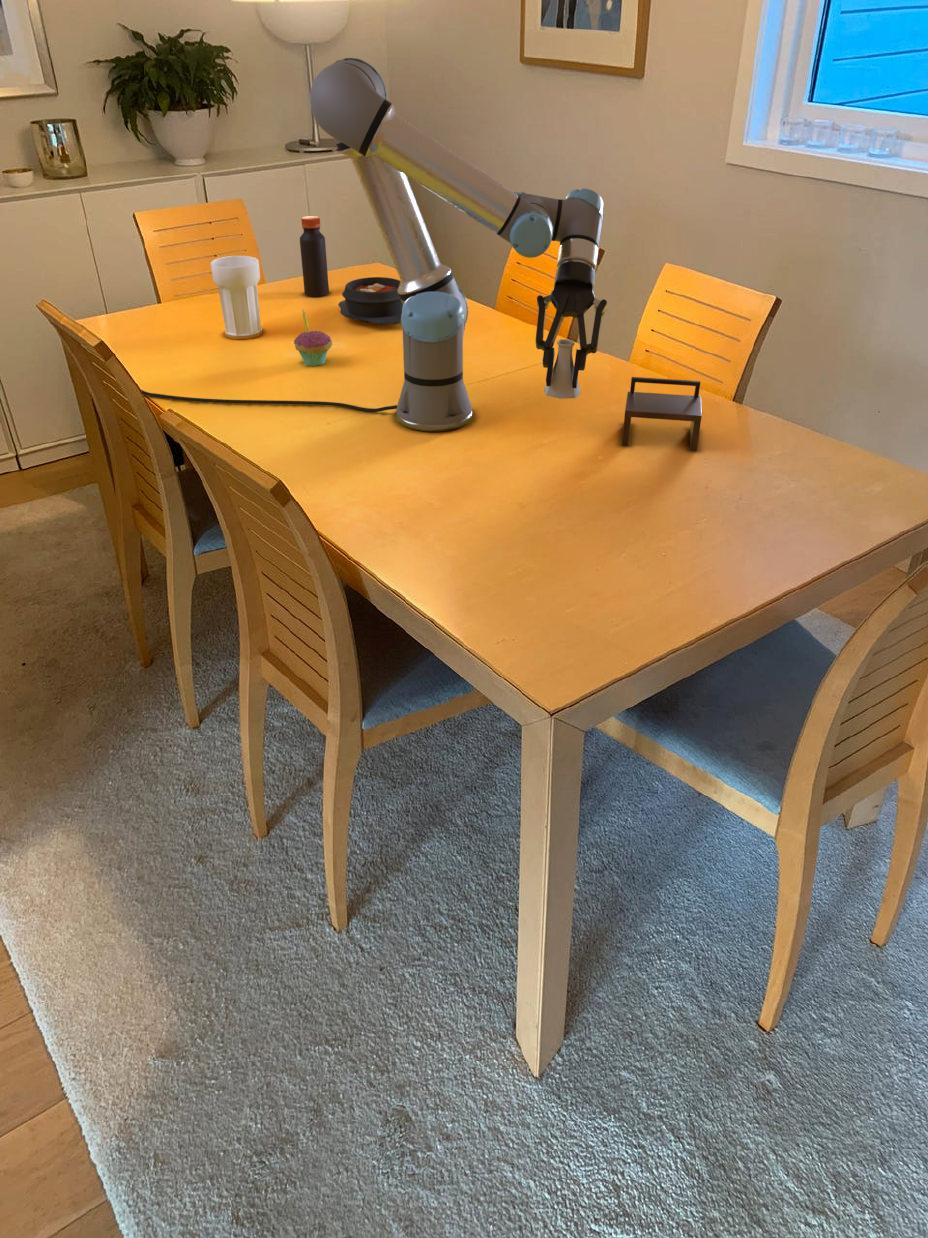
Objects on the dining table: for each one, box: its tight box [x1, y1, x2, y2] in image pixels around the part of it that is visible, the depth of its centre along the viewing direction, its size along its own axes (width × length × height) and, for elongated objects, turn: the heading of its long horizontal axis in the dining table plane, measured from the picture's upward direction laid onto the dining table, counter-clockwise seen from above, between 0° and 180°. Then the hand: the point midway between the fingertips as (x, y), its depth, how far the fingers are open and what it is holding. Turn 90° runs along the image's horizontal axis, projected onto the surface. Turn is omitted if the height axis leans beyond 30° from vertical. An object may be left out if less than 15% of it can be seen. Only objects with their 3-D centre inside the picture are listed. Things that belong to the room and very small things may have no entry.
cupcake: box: [293, 308, 333, 367], centre depth 219 cm, size 9×8×12 cm
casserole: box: [337, 276, 403, 325], centre depth 248 cm, size 25×19×8 cm
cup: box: [209, 255, 263, 340], centre depth 235 cm, size 11×11×17 cm
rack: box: [621, 376, 703, 452], centre depth 184 cm, size 14×10×10 cm
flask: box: [543, 338, 582, 400], centre depth 182 cm, size 7×7×10 cm
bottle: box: [299, 215, 330, 298], centre depth 263 cm, size 7×7×20 cm
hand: (561, 383), depth 180 cm, fingers closed on flask, 4 cm apart
